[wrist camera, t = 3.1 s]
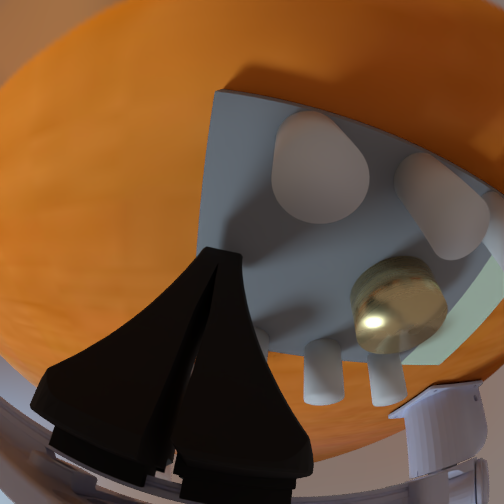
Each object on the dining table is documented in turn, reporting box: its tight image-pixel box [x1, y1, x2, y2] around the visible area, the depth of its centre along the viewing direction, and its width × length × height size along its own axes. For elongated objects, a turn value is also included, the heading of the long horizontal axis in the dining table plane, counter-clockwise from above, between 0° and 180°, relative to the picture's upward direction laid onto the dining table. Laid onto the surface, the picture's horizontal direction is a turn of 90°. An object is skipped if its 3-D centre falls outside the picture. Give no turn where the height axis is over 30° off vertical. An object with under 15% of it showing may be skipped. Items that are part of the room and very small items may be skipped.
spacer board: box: [196, 89, 504, 406], centre depth 10 cm, size 17×12×4 cm
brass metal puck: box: [350, 256, 448, 354], centre depth 10 cm, size 4×4×2 cm
